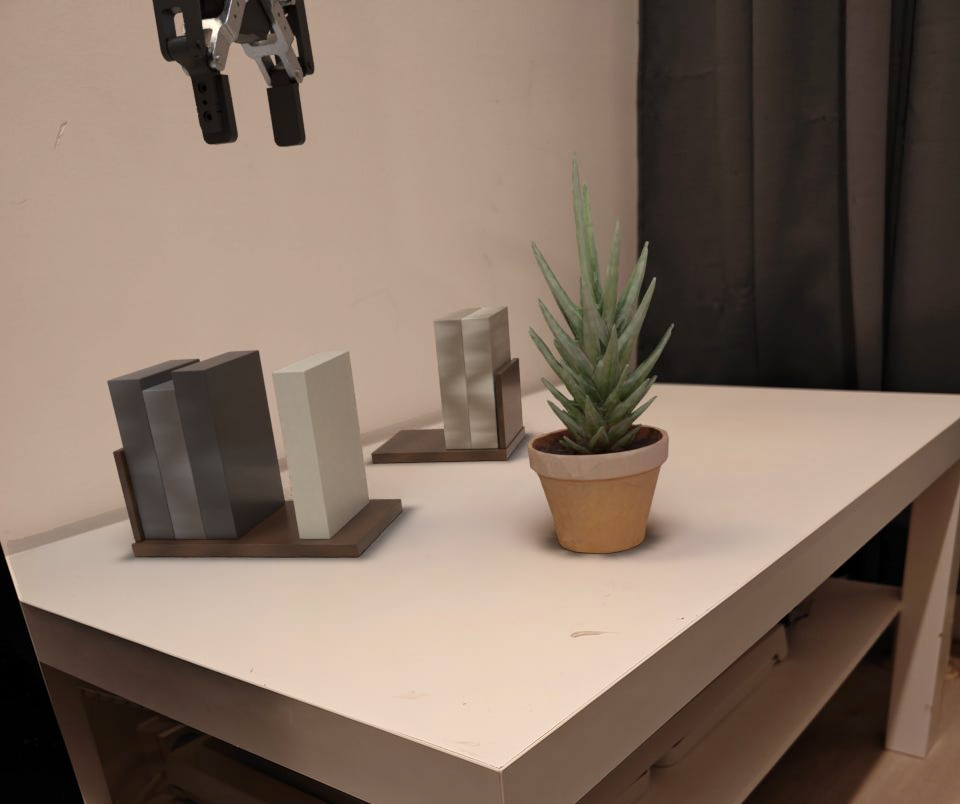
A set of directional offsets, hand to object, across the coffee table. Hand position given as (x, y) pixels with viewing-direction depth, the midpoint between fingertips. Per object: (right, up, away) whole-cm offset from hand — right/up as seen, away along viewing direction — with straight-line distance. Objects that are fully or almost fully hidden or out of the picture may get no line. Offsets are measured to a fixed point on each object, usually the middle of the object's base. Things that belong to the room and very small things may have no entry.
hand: (258, 144), depth 63 cm
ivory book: (+4, -24, +9) cm, 26 cm away
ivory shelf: (+12, -14, +32) cm, 37 cm away
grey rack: (-1, -25, +11) cm, 27 cm away
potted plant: (+24, -27, +3) cm, 36 cm away
